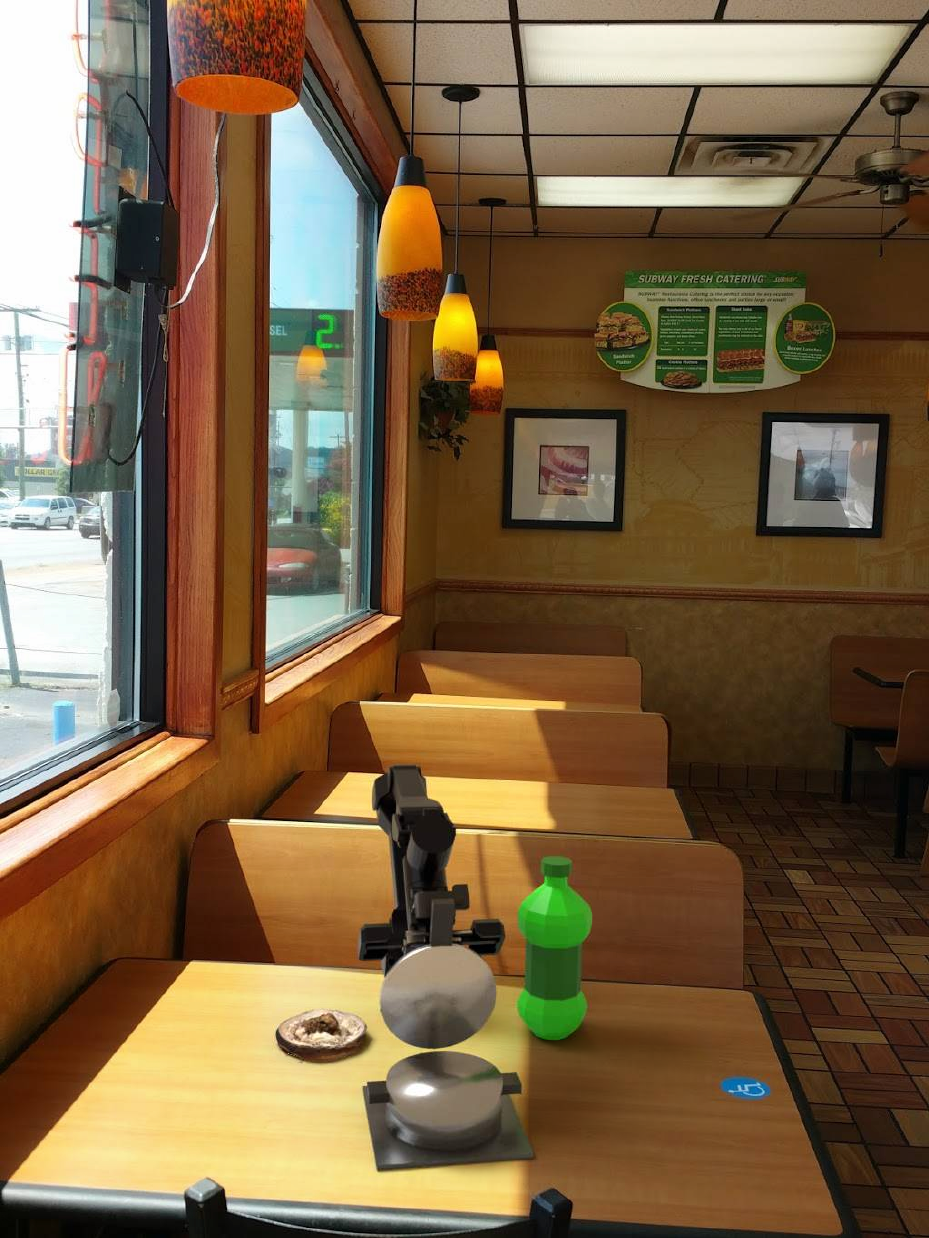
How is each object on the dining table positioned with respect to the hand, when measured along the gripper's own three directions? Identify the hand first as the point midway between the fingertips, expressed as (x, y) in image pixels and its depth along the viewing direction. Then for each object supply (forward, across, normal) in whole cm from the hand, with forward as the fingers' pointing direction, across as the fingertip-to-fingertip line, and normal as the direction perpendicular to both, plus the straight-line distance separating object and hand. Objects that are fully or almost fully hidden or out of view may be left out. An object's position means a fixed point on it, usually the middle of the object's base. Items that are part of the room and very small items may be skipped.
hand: (437, 1003), depth 144 cm
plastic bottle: (-2, +19, +19) cm, 27 cm away
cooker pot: (+13, 0, +4) cm, 14 cm away
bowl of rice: (-3, -13, +21) cm, 25 cm away
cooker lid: (-2, 0, -4) cm, 5 cm away
